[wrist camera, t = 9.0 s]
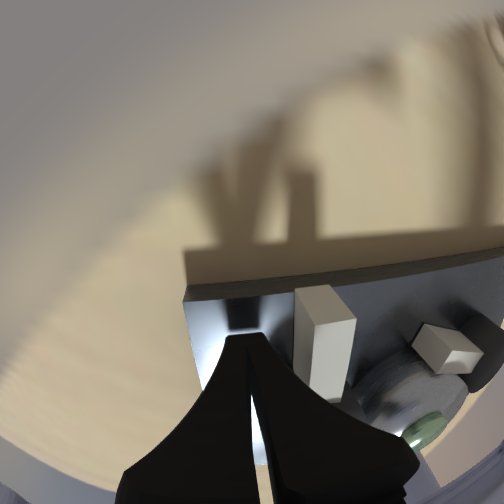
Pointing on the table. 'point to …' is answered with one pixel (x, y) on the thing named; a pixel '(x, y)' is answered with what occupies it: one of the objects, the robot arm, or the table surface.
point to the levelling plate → (364, 332)
